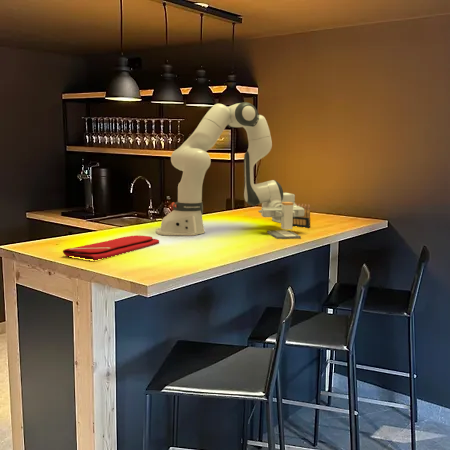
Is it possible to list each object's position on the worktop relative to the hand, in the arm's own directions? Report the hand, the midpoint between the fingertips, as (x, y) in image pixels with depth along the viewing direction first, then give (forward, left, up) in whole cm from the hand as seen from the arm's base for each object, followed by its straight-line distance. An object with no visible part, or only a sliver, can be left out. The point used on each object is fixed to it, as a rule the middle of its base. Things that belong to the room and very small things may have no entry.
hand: (287, 214), depth 259 cm
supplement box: (+12, +43, -10) cm, 46 cm away
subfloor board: (-1, +1, -10) cm, 10 cm away
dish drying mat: (-78, -20, -11) cm, 82 cm away
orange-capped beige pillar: (0, +1, -6) cm, 7 cm away
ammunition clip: (+15, +25, -10) cm, 31 cm away
